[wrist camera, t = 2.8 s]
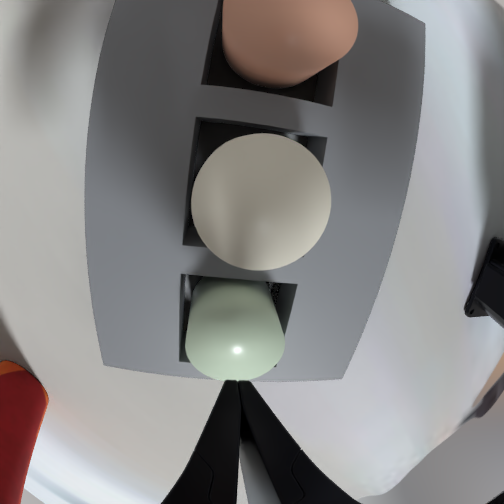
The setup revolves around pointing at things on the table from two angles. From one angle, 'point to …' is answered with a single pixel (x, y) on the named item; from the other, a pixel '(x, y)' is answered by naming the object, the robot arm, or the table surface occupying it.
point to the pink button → (286, 38)
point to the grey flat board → (182, 173)
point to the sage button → (233, 329)
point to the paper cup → (18, 427)
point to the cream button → (261, 201)
